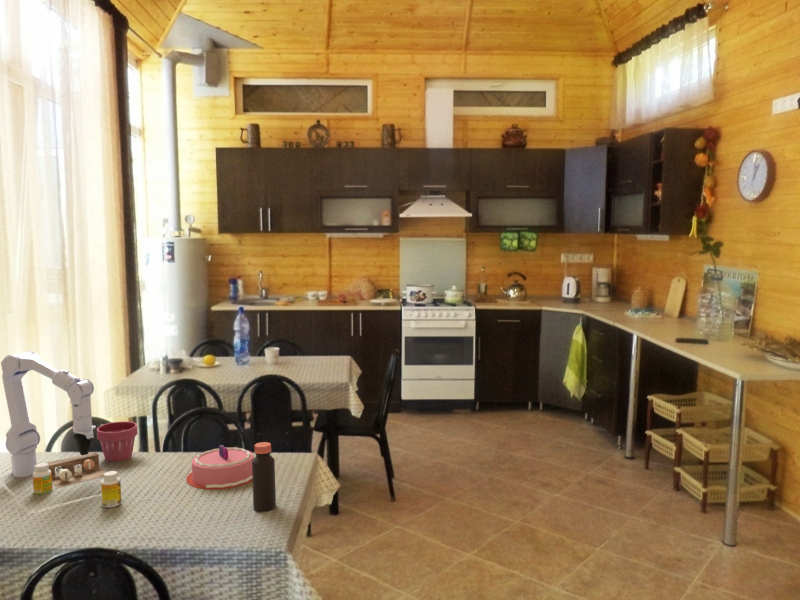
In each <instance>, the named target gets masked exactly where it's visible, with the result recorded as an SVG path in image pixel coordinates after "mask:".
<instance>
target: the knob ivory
mask: <svg viewBox="0 0 800 600" xmlns="http://www.w3.org/2000/svg"><path fill="white" fill-rule="evenodd" d="M55 472H56V473H57V472H58V473H59V478H60V479H61V480H63V481H67V480H69V479H70V478H71V476H72V473H71V472H70V471H69V470H68V469H62V468H61V466H60V467H56V468H55Z"/></svg>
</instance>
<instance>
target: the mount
mask: <svg viewBox="0 0 800 600" xmlns="http://www.w3.org/2000/svg"><path fill="white" fill-rule="evenodd" d="M87 459H90V460H92V461H93V462H94V463H95V466H94V468H93V469H92V470H89V471H87V470H85V469H84V468H83V467H82V473H83V476H82V477H81V478H74V465H78V464H81V465H82V463H83V461H85V460H87ZM46 463H48V465H49V468H48V469H49V470H51V473H52V486H54V488H56V489H59V488H63V487H64V488H65V487H67V486H71V485H76V484H80V483H85V482H87V481H92V480H96V479H99V478H103V474H104V473H106V472H107V471H105V470H104V469H103V468H101V467H100V455H99V453H98V452H96V451H92V452H88V454H86V455H81V454H78V455H76V456H75V455H74V456H70V457H65V458H61V459H57V460H53V461H48V462H46ZM58 467H61V468H62V469H68V470H69V471H70V472H71V473H72V476H71V478H70V479H69V480H67V481H63V480H61V479H60V478H59V473H58V472H57V471H56V469H57V468H58Z"/></svg>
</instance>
